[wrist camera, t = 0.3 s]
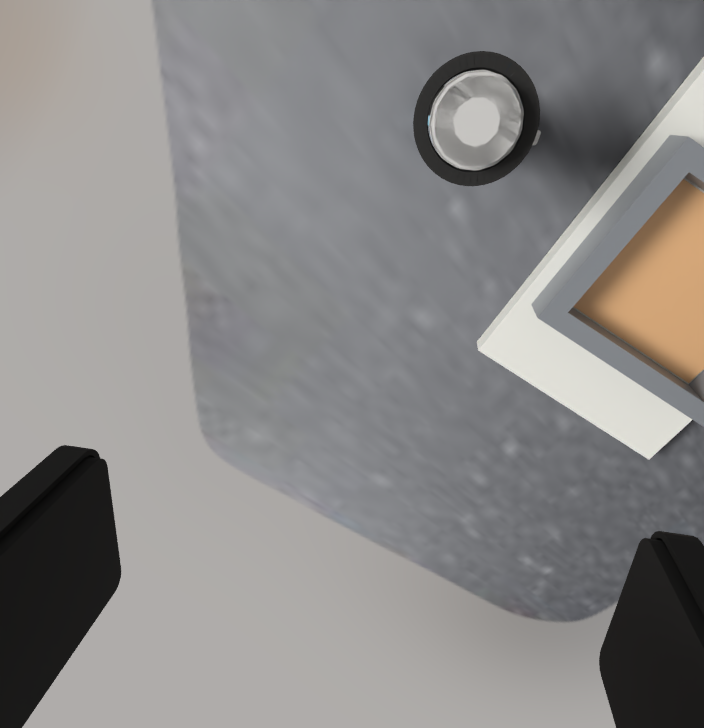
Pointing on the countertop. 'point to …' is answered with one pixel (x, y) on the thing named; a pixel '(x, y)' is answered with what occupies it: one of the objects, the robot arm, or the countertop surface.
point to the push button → (477, 118)
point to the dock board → (624, 291)
